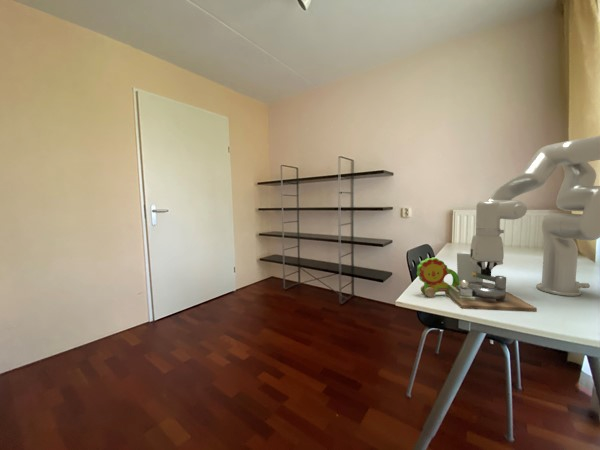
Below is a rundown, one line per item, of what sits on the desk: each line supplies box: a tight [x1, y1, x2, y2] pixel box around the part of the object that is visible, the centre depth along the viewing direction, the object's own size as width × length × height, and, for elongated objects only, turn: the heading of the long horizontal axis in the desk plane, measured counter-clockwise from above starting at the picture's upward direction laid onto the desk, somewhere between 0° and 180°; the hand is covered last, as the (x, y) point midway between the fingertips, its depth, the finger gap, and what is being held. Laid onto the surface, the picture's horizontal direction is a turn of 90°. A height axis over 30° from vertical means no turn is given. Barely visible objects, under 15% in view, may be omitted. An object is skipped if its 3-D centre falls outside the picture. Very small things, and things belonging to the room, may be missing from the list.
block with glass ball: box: [456, 280, 472, 297], centre depth 95 cm, size 4×4×6 cm
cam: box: [468, 271, 507, 299], centre depth 95 cm, size 12×13×8 cm
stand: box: [444, 286, 537, 312], centre depth 94 cm, size 23×15×5 cm, turn 80°
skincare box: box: [456, 250, 484, 286], centre depth 111 cm, size 8×6×15 cm
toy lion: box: [416, 256, 460, 298], centre depth 101 cm, size 16×5×15 cm, turn 87°
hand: (485, 278), depth 100 cm, fingers closed
